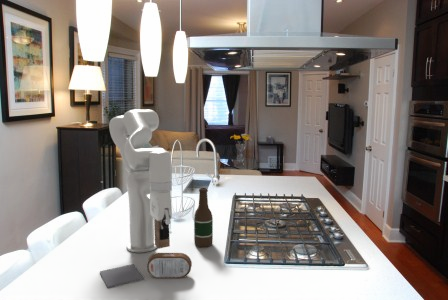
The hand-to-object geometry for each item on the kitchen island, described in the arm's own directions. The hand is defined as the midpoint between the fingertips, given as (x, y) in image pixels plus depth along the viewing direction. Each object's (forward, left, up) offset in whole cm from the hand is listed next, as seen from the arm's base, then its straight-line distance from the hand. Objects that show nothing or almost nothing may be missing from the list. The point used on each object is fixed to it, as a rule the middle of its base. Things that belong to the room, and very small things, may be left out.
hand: (162, 236), depth 129 cm
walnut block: (0, 0, -3) cm, 3 cm away
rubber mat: (-2, -14, -12) cm, 19 cm away
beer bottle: (-13, +23, -12) cm, 29 cm away
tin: (+7, 0, -12) cm, 14 cm away
